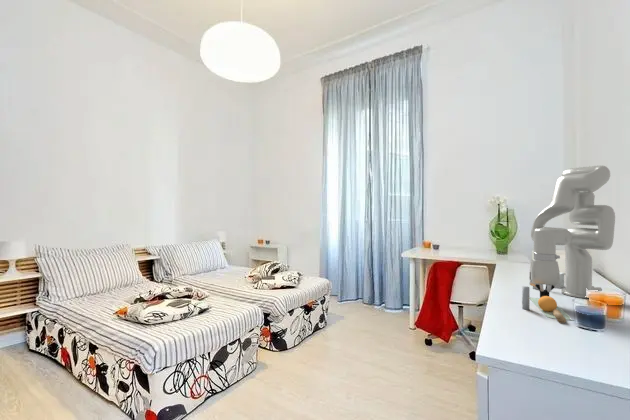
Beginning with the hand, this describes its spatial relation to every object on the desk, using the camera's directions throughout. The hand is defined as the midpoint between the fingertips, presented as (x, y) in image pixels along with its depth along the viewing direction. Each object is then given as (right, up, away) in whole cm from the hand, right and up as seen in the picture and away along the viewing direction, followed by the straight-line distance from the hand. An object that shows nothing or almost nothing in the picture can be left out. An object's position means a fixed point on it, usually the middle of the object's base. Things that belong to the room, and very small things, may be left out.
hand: (544, 300), depth 131 cm
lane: (-2, -2, -6) cm, 6 cm away
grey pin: (-13, -2, -7) cm, 14 cm away
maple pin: (-6, -1, -14) cm, 16 cm away
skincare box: (+28, -2, +29) cm, 40 cm away
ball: (-6, +1, -10) cm, 12 cm away
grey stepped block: (+16, -2, +23) cm, 28 cm away
